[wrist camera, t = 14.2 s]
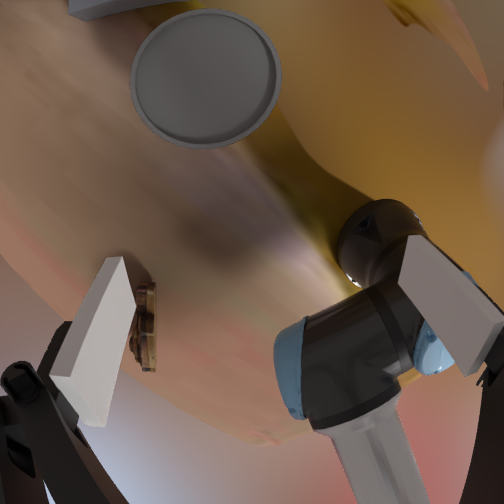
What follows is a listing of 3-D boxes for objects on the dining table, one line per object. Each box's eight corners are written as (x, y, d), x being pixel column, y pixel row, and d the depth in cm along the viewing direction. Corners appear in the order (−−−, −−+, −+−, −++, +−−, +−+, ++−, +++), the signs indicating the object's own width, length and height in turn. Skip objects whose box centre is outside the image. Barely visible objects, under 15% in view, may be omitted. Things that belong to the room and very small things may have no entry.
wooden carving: (131, 269, 45) (115, 310, 37) (160, 270, 46) (149, 312, 37) (143, 344, 53) (134, 386, 44) (167, 346, 54) (161, 389, 45)
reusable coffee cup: (153, 125, 36) (117, 144, 23) (170, 32, 30) (142, 0, 17) (250, 138, 38) (267, 164, 25) (270, 47, 32) (299, 21, 19)
